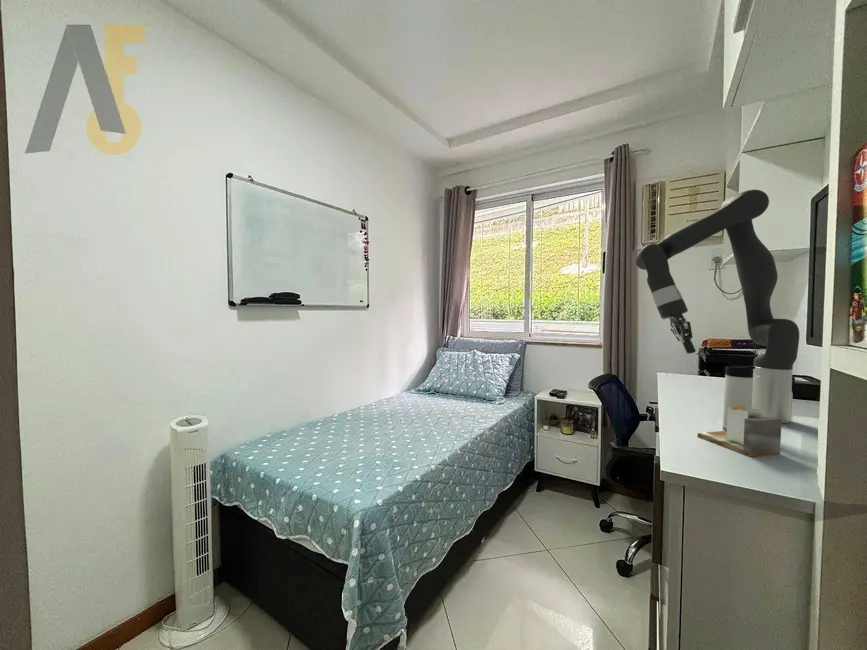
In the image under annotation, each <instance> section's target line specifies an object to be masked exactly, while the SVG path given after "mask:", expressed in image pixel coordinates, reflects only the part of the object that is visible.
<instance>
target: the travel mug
mask: <svg viewBox="0 0 867 650" xmlns="http://www.w3.org/2000/svg"><path fill="white" fill-rule="evenodd" d="M753 369H755V366H754V365H729V366H725V373H724V376H725V377H724V389H723V390H724V391H723V411H722V412H723V414H722V431H725V432H727V415H728V406H745V407H748V408H752V393H753Z"/></svg>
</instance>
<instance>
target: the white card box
mask: <svg viewBox="0 0 867 650" xmlns="http://www.w3.org/2000/svg"><path fill="white" fill-rule="evenodd" d="M759 417H762V411H760V410H756V409H752V408H748V407H745V406H728V415H727V431H726V432H727V436H726V440H729V441H732V442H735V443H737V444H740V445H743V443H744V423H745V419H747V418H759Z"/></svg>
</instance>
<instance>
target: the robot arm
mask: <svg viewBox="0 0 867 650" xmlns="http://www.w3.org/2000/svg"><path fill="white" fill-rule="evenodd" d="M769 204H770V198H769V195H768V194H767V193H766V192H765V191H763V190H760V189H749V190H744V191H742V192H739V193H737V194H734V195H733V196H729V197H728V198H727V199H725V200H724V201H723V202H722V204H721V207H720V209H718V210H717V211H715V212H713V213H712V214H709V215H707V216H705V217H703V218H700V219H699V220H696V221H693V222H691V223H690V224H687V225H685V226H683V227H681V228H680V229H677V230H675V231H673V232H672V233H670V234H668V235H666V236H665V237H664V238H663V239H661V240H660V241H659V242H658V243H649V244H645V246H644V247H642V249H641V250H640V251H639V252H638V254H637V255H636V257H635V265H636V266H637V268H638V269H640V270H644V271H646V273H647V278H646V282H647V286H648V288H649V289H650V292H651V295H652V298H653V302H654V304H655V306H656V309H657V311H658V313H659V316H660V318H661V319H662V320H667V319H668V320H669V322H670V323H669V325H670V331H671V333H672V334H673V336H674V337H675V338H676V339H677V341H678V342H680V343H681V344H682V347H683V348H684V351H685V352H686V354H688V355H689V354H694V353H696V347H694V344H693V342H692V339H693V332H692V326H691V322H690V321H688V319H687V318H685V317H684V314H686V313H688V312H689V311H688V310H689V309H688V307H687V305H686V302H685V300H684V299H683V296H682V294H681V292H680V290H679V288H678V287H677V285H676V282H675V281H674V277H673V276H672V274H671V271H670V264H669V261H668V260H670V259H671V258H673V257H675V256H677V255H678V254H681V253H683V252H684V251H686V250H688V249H690V248H692V247H694V246H695V245H698V244H700V243H701V242H703V241H705V240H707V239H709V238H710V237H712V236H715V235H716V234H718V233H720V232H722V231H724V230H726V233H727V235H728V239H729V241H730V246H731V250H732V253H733V258H734V261H735V265H736V266H735V267H736V272H737V275H738V279H739V280H738V281H739V284H740V286H741V290H742V296H743V301H744V306H745V313H746V322H747V323H746V325H747V331H748V335H749V338H750V339H751V341H752V342H753V343H755V344H756V345H759V346H765V347H766V349H765V351H764V353H763V354H762V355H759V356H755V357H754V359H753V366H755V369H753V393H752V409H756V410H760V411H762V417H772V416H773V417H776V418H780V419H782V424H789V423H790V422H791V421H792V415H793V414H792V413H793V397H794V396H793V395H794V394H793V391H792V387H793V386H792V385H793V367H794V364H795V362H796V361H797V358H798V352H799V351H798V350H799V343H800V329H799V326H798V324H797V323H796V322H795V321H793V320H791V319H787V318H775V317H774V316H773V312H772V309H771V308H772V307H771V298H772V296H773V295H772V294H774V291H775V288H776V285H777V283H778V276H779V275H778V270H777V265H776V262H775V259H774V256H773V254H772V253H771V251H770V250H769V248H768V247H766V246H765V244H764V243H763V242H762V241H761V240H760V238H759V237H758V236H757V234H756V231H755V229H754V224H753V220H754V219H756V218H758V217H760V216H761V215H763V214H764V212H766V211H767V209H768V207H769V206H770V205H769Z"/></svg>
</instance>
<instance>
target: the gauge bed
mask: <svg viewBox="0 0 867 650" xmlns="http://www.w3.org/2000/svg"><path fill="white" fill-rule="evenodd" d="M782 424H783V423H782V419H780V418H776V417H773V416H772V417H759V418H747V419H745V423H744V443H743V445H740V444H737V443H735V442H732V441H729V440H726V436H727V431H725V430H719V431H707V432H704V431H703V432H697V435H696V436H697V437H698V438H701V439H702V440H705V441H708V442H710V443H713V444H716V445H719V446H721V447H723V448H726V449H729V450H731V451H733V452H736V453H739V454H742V455H744V456H747V457H749V458H759V457H767V456H776V455H780V454H781V441H782Z"/></svg>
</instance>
